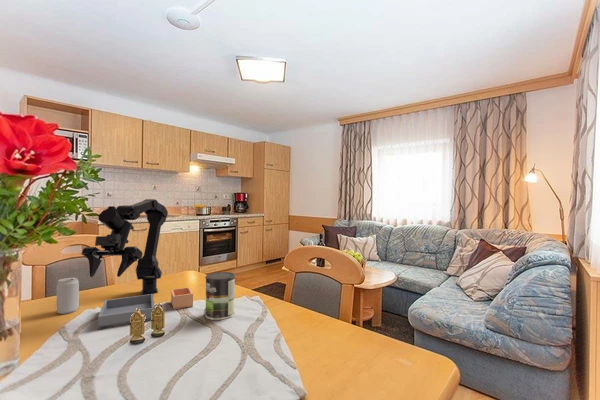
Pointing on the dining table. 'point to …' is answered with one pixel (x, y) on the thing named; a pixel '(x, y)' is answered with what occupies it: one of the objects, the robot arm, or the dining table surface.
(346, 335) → the dining table surface
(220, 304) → the coffee can
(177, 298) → the small crate
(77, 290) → the beverage can
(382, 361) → the dining table surface
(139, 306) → the big crate
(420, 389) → the dining table surface
